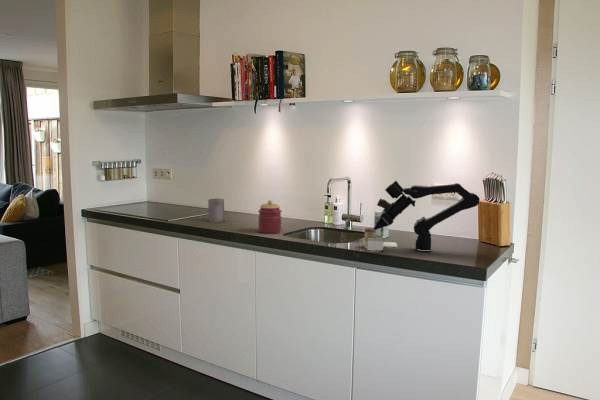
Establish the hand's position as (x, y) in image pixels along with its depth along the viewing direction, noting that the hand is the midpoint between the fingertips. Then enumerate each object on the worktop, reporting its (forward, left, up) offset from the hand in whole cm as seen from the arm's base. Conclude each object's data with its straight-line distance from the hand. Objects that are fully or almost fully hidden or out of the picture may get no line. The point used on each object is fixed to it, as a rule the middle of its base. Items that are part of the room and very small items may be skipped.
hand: (374, 227), depth 221 cm
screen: (0, +8, -10) cm, 12 cm away
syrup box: (-4, -24, -10) cm, 26 cm away
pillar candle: (+97, -55, -10) cm, 112 cm away
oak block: (+2, 0, -10) cm, 10 cm away
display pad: (-6, -4, -10) cm, 12 cm away
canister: (+57, -28, -10) cm, 65 cm away
